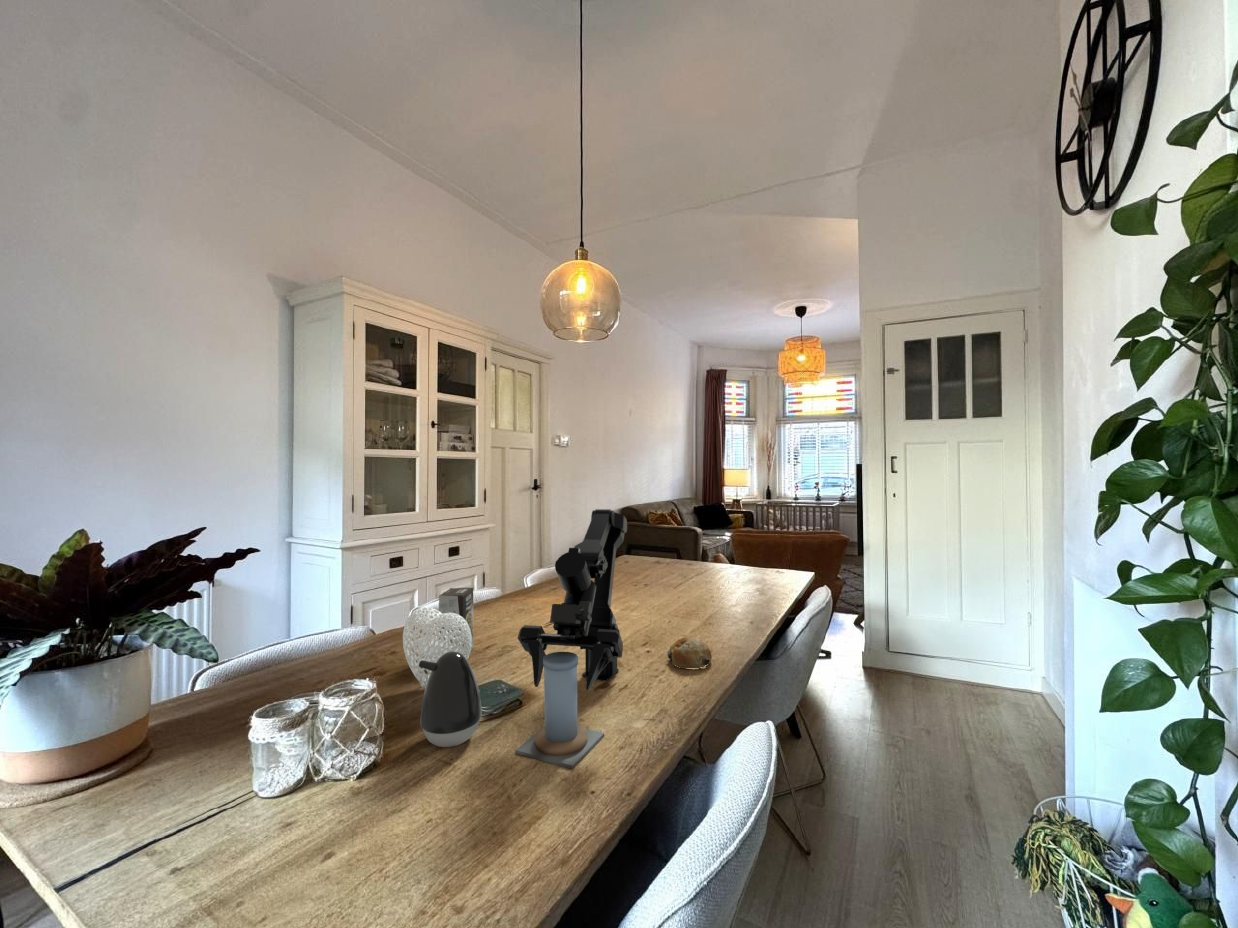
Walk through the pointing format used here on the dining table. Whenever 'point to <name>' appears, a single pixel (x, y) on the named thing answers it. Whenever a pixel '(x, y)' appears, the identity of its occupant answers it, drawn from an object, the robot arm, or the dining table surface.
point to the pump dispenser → (450, 701)
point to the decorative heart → (433, 638)
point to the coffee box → (458, 607)
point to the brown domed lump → (689, 653)
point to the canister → (560, 696)
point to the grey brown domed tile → (560, 747)
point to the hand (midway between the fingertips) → (561, 688)
